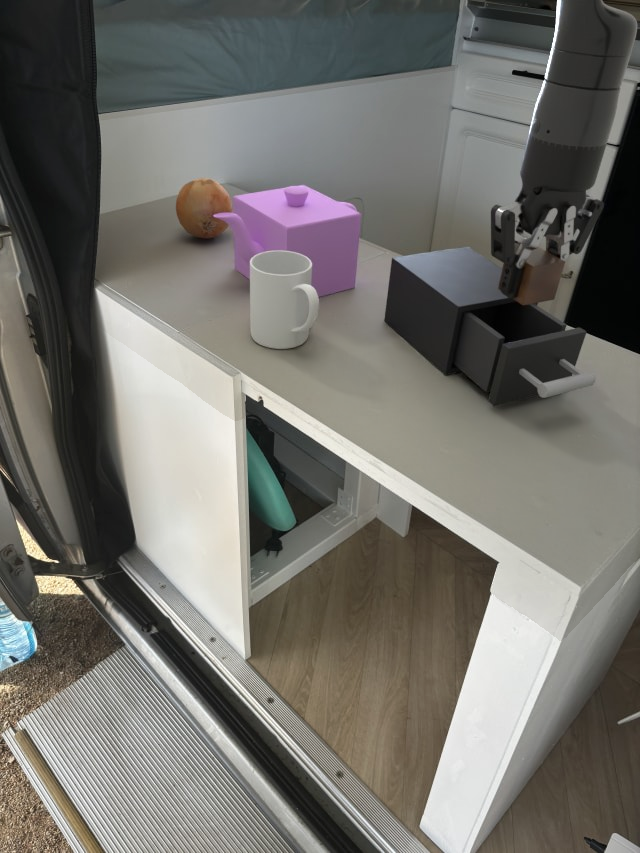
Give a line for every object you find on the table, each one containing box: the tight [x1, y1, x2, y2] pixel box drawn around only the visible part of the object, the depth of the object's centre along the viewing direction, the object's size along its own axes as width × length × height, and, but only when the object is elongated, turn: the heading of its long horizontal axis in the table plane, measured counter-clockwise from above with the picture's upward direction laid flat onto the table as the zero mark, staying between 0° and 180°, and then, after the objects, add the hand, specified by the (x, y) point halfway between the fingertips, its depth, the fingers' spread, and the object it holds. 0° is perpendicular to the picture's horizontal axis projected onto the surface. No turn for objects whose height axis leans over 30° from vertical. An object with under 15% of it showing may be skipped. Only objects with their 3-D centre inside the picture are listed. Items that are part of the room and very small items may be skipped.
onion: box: [175, 177, 233, 239], centre depth 113 cm, size 10×10×10 cm
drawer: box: [452, 302, 596, 407], centre depth 79 cm, size 20×11×8 cm, turn 25°
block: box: [498, 246, 566, 305], centre depth 74 cm, size 5×5×5 cm
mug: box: [249, 250, 320, 350], centre depth 84 cm, size 12×8×10 cm, turn 33°
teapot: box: [213, 184, 362, 298], centre depth 99 cm, size 15×25×14 cm, turn 125°
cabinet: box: [383, 246, 539, 376], centre depth 88 cm, size 16×13×10 cm
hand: (526, 291), depth 75 cm, fingers closed on block, 4 cm apart
